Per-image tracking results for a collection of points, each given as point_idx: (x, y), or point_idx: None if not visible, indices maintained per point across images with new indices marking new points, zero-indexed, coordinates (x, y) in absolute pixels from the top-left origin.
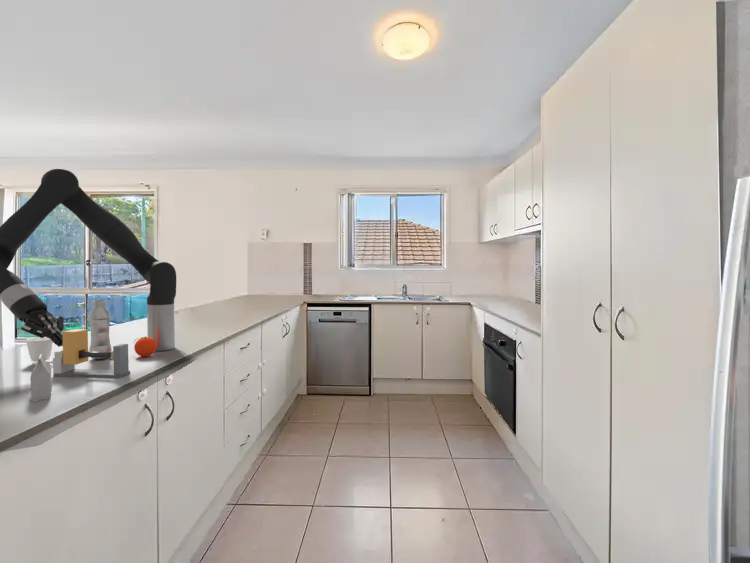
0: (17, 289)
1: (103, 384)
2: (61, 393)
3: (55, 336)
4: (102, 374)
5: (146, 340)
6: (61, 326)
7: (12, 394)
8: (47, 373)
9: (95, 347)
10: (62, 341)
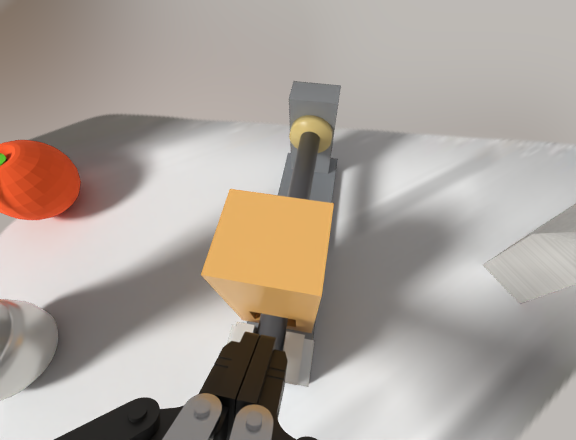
0: None
1: (398, 171)
2: (493, 226)
3: (269, 393)
4: (328, 201)
5: (36, 149)
6: (114, 429)
7: (546, 372)
8: None
9: (14, 346)
10: (275, 341)
